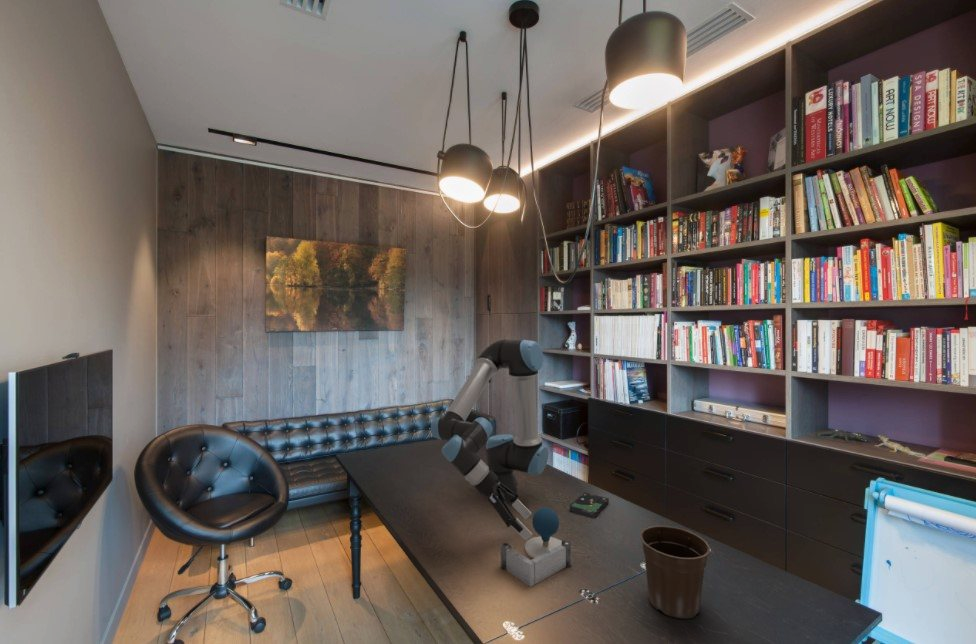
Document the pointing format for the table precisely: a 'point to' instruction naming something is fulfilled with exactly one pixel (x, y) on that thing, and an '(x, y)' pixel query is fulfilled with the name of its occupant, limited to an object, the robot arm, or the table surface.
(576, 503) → the disk drive
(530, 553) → the coaster
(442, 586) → the table surface
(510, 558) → the bent rail
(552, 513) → the dark blue rounded piece
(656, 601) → the plant pot
